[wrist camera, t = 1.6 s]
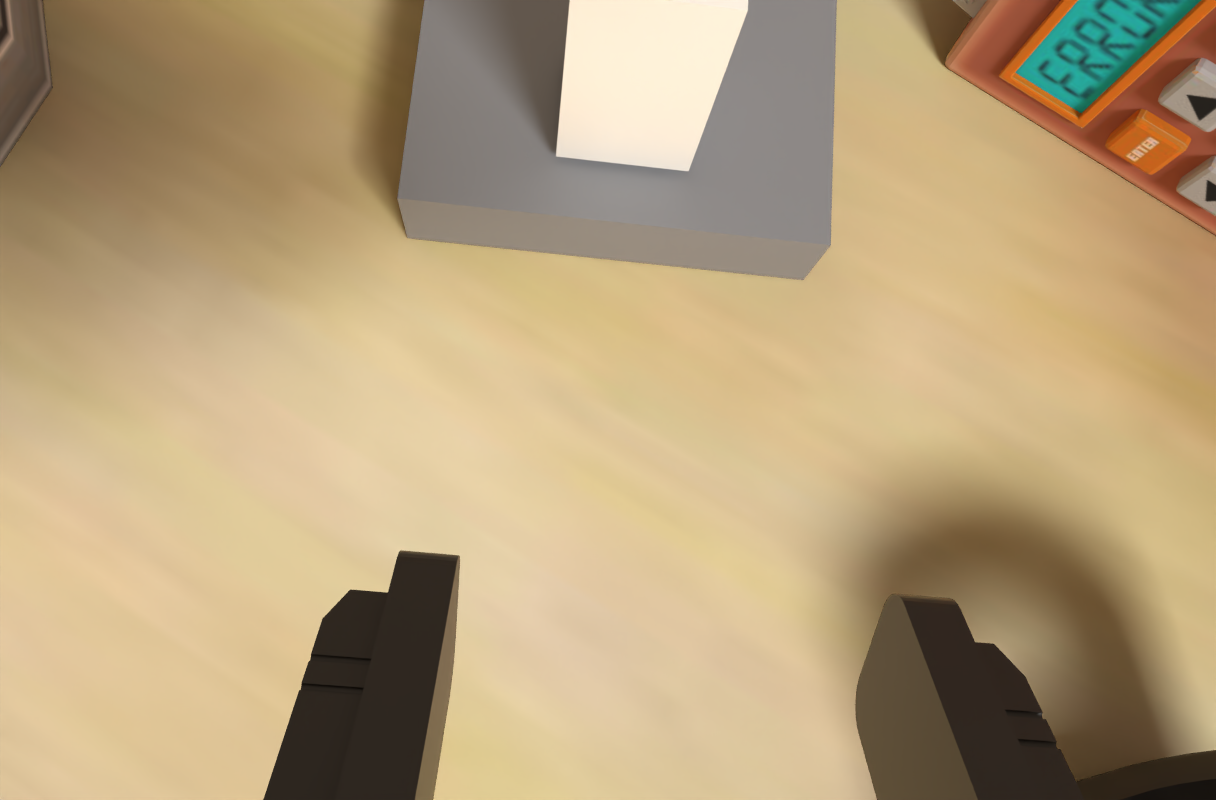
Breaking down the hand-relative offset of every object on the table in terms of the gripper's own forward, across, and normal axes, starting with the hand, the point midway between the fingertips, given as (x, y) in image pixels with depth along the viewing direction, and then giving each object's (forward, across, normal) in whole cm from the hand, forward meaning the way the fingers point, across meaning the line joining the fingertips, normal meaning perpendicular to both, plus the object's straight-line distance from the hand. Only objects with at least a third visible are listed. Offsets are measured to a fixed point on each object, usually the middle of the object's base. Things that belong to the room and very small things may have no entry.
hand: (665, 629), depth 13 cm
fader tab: (+22, 0, -1) cm, 22 cm away
